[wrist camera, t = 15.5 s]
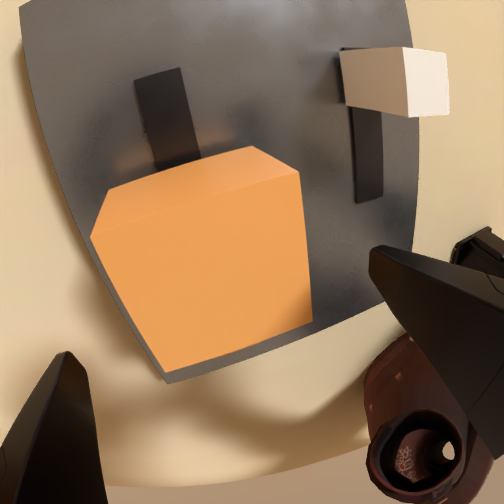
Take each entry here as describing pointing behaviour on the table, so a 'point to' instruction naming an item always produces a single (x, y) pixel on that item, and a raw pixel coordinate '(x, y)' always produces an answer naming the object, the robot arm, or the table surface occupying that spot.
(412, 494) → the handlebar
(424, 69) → the switch
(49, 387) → the robot arm
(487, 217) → the table surface
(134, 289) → the cap
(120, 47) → the breaker panel
